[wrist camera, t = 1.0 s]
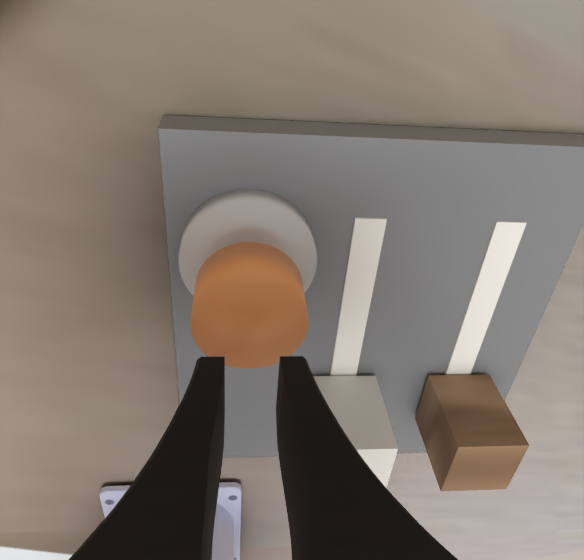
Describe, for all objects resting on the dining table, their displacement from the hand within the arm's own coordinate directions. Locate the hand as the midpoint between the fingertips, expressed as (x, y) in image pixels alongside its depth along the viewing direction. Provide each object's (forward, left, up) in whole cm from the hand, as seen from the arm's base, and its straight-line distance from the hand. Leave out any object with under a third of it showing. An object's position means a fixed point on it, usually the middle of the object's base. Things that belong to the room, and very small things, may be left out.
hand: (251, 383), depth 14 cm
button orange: (0, 0, -4) cm, 4 cm away
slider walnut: (-8, -10, -7) cm, 14 cm away
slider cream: (-8, -4, -7) cm, 11 cm away
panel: (-4, -5, -8) cm, 11 cm away
